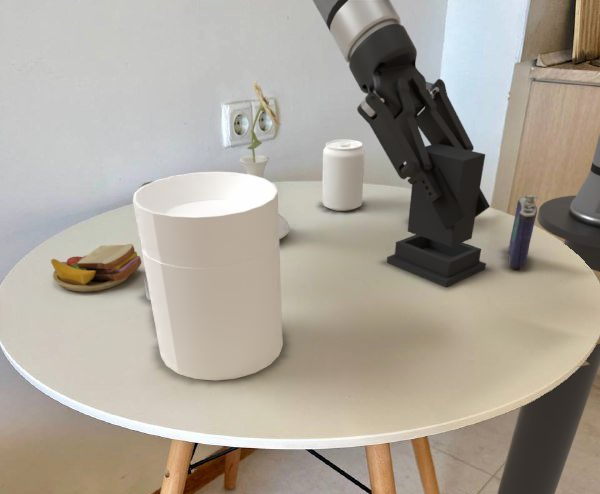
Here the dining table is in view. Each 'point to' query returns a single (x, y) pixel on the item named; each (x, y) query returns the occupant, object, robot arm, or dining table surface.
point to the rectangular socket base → (436, 259)
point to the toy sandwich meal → (97, 268)
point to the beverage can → (343, 174)
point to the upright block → (465, 186)
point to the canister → (213, 271)
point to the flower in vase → (258, 162)
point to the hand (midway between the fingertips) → (468, 217)
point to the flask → (522, 232)
